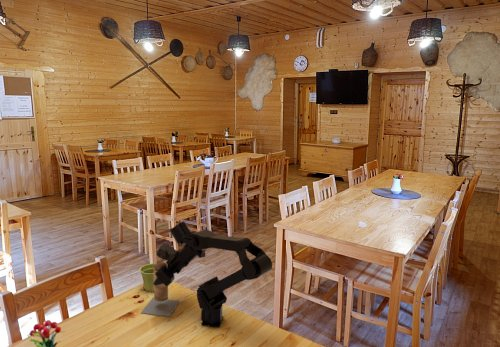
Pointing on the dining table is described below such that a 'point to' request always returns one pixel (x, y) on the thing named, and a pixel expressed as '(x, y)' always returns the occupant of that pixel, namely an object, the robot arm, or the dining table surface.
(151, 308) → the slate coaster
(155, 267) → the oak pepper mill
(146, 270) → the plant pot
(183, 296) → the dining table surface
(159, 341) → the dining table surface
